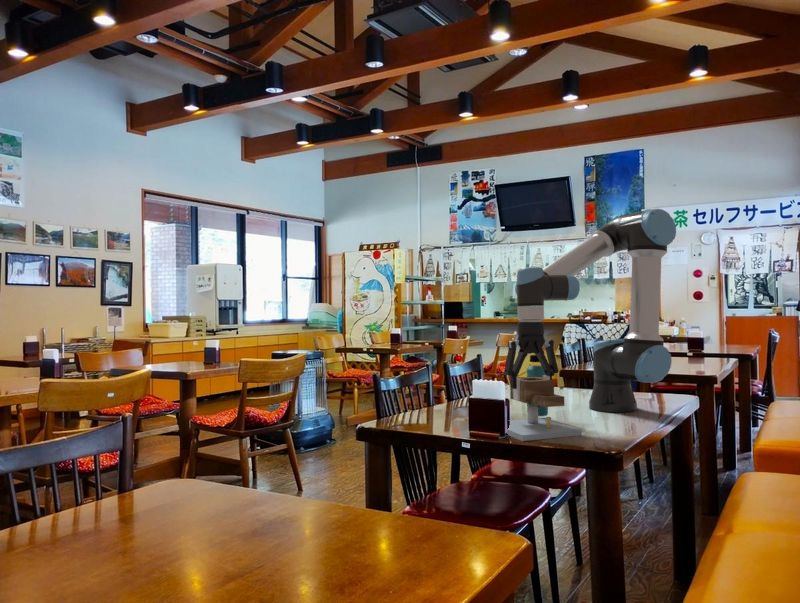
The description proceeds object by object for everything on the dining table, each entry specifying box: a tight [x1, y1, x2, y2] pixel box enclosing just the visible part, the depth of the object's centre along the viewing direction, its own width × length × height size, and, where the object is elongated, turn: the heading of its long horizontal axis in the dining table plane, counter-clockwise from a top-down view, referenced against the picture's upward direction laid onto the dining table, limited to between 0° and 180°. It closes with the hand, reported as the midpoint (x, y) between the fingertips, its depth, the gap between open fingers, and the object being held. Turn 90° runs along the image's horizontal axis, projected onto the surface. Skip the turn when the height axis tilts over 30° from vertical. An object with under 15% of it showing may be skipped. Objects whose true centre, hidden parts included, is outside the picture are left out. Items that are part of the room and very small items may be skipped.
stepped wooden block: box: [509, 376, 565, 408], centre depth 173 cm, size 16×9×6 cm, turn 18°
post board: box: [507, 404, 582, 442], centre depth 172 cm, size 18×19×6 cm
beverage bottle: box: [526, 354, 549, 417], centre depth 190 cm, size 6×7×20 cm
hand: (531, 399), depth 177 cm, fingers closed on stepped wooden block, 9 cm apart
